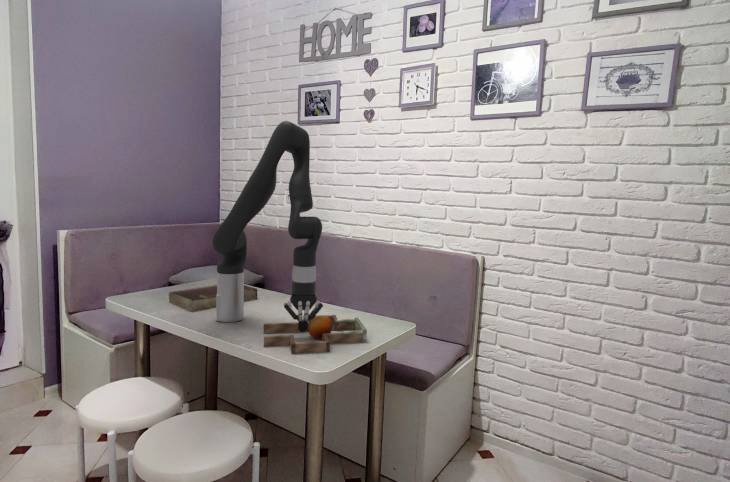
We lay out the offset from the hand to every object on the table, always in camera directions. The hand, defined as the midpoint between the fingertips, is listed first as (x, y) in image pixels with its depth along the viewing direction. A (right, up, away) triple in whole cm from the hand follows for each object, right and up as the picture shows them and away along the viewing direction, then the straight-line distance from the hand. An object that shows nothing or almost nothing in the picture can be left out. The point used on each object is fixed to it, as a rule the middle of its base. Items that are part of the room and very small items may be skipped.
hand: (302, 331), depth 145 cm
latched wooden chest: (-42, +4, +41) cm, 59 cm away
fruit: (+5, -2, +2) cm, 6 cm away
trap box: (+3, -2, +1) cm, 4 cm away
